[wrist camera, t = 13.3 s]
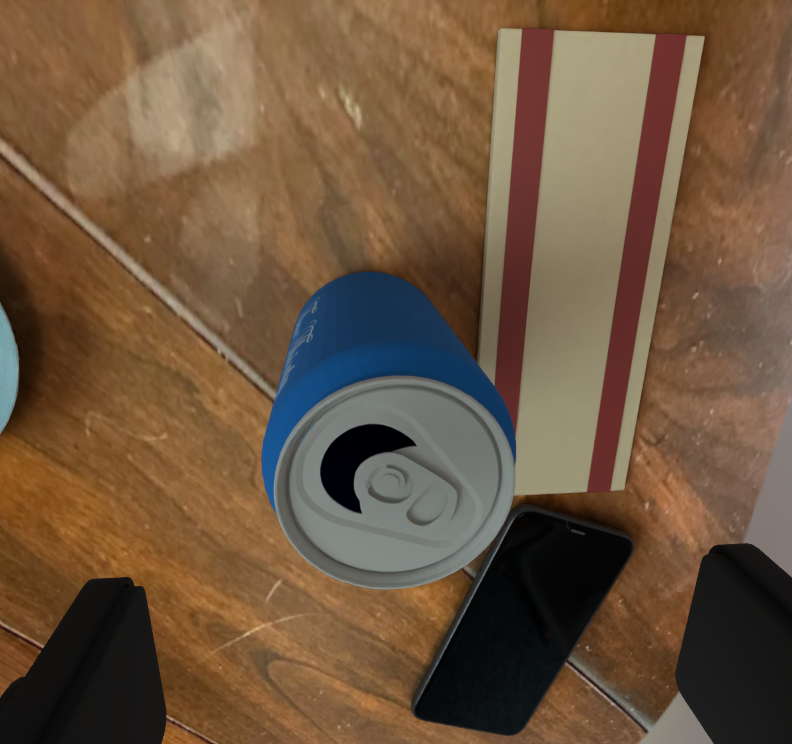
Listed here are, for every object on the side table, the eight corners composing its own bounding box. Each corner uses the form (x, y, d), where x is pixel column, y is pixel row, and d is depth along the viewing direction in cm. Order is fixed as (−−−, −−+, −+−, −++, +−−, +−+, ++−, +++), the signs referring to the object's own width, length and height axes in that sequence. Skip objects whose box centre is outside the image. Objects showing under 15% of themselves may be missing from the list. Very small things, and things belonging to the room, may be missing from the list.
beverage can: (350, 236, 22) (365, 298, 11) (469, 325, 24) (589, 456, 13) (264, 360, 23) (198, 528, 12) (383, 434, 25) (422, 640, 14)
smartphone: (515, 727, 33) (635, 530, 29) (520, 741, 32) (644, 541, 28) (403, 706, 31) (513, 494, 27) (405, 720, 30) (518, 504, 26)
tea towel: (698, 38, 21) (706, 35, 20) (620, 486, 28) (625, 490, 27) (497, 30, 20) (501, 27, 20) (467, 493, 27) (470, 499, 26)
